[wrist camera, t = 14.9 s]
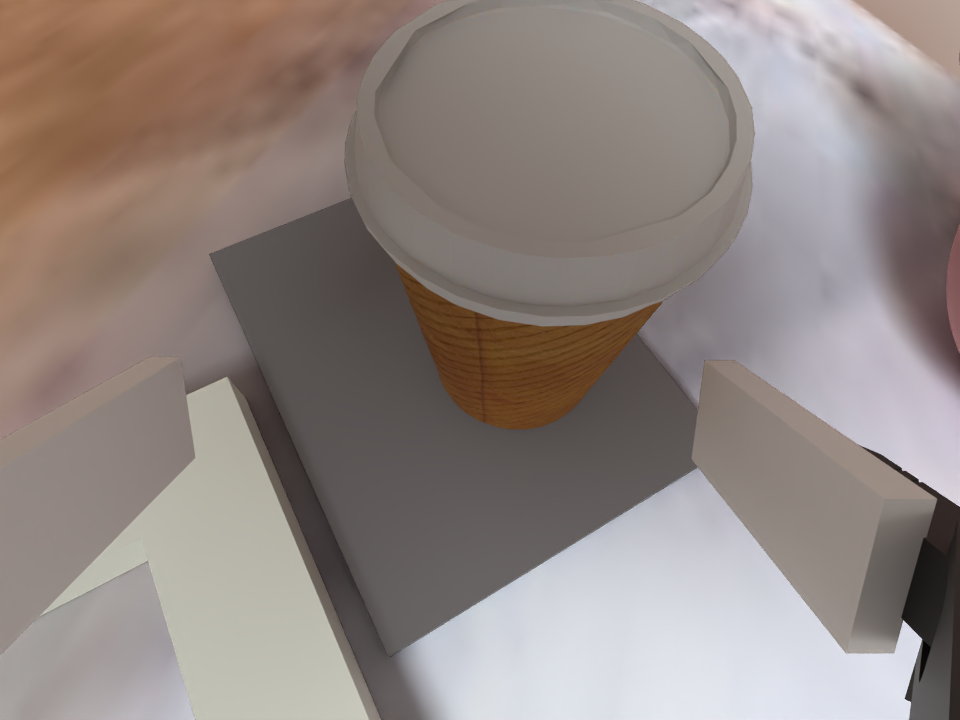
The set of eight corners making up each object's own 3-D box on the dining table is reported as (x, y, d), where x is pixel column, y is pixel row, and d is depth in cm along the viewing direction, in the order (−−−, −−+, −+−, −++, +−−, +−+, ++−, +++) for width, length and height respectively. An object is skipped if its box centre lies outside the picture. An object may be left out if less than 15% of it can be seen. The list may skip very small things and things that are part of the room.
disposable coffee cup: (521, 226, 26) (557, -69, 16) (682, 369, 23) (867, 120, 12) (348, 344, 23) (247, 79, 13) (506, 527, 20) (549, 378, 9)
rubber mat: (214, 262, 26) (209, 254, 25) (486, 154, 29) (486, 144, 29) (390, 656, 19) (388, 656, 18) (721, 452, 22) (727, 447, 22)
